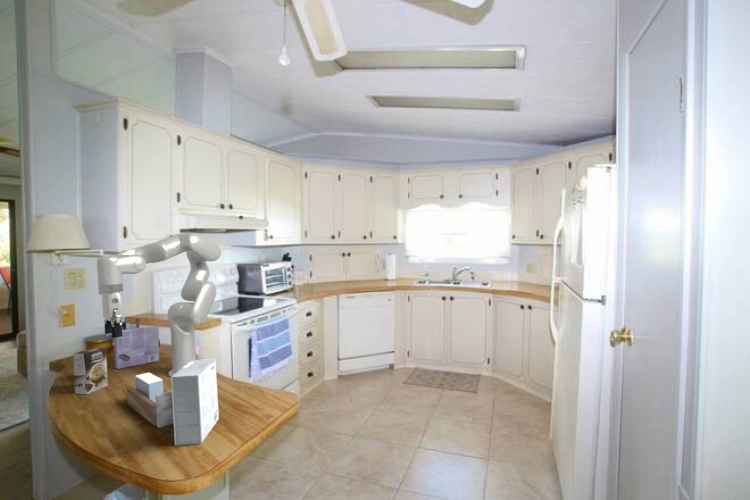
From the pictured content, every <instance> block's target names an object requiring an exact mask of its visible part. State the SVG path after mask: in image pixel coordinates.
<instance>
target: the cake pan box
mask: <svg viewBox="0 0 750 500" xmlns="http://www.w3.org/2000/svg"><path fill="white" fill-rule="evenodd" d="M159 329H160V327H159V325H152V326H145V327H135V328H131V329H122V337H116V338H114V368H116V370H121V369H125V368H130V367H137V366H141V365H142V366H143V365H145V364H149V363H154V362H155V363H156V362H160V346H161V340H160V337H159V335H160V333H159V332H160V330H159Z"/></svg>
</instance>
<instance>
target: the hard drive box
mask: <svg viewBox="0 0 750 500" xmlns="http://www.w3.org/2000/svg"><path fill="white" fill-rule="evenodd" d="M170 380H171V390H172V401H173V419H174V423H173V432H174V433H173V436H174V438H173V439H174V446H188V445H189V446H190V445H200V444H202V443H203V442H204V440H205V439H206V438H207V436H208V435H209V433H210V432H211V431H212V429H213V428H214V426H215V425H216V424H217V423H218V421H219V420H220V416H219V399H218V398H219V397H218V384H217V383H218V382H217V364H216V359H215V358H206V359H204V358H203V359H196V360H192V361H190V362H189V363H188V364H187V365H185V366H184V367H183V368H182V369H181V370H179V371H178V372H177V373H176V374H174V375H173V376H172V377H171V376H170Z"/></svg>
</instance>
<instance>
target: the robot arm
mask: <svg viewBox="0 0 750 500" xmlns="http://www.w3.org/2000/svg"><path fill="white" fill-rule="evenodd" d="M183 253H186V257H187V260H188V262H189V266H190V271H189V273H188V275H187V278H186V280H185V282H184V284H183V286H182V289H181V292H180V297H181V299H183V300H184V302H183V301H180V302H175V303H172V305H171V306H169V307H168V310H167V319H168V324H169V328H170V329H169V330H170V344H171V345H170V347H171V370H169V371H168V376H169V377H170V378H171V377H172V376H173V375H174V374H176V373H177V372H178V371H179V370H181V369H182V368H183V367H184V366H185V365H187V364H188V363H189V362H190V361H192V360H197V358H196V334H195V328H194V326H195V325H201V324H203V323H204V322H205V321H206V319H207V318H208V316H209V314H210V311H211V309H212V307H213V305H214V301H215V299H216V296H217V287H216V285H215V284H214V282H212V281H209V278H210V269H209V265H208V264H207V262H216V261H218V259H220V257H221V256H222V255H221V254H222V250H221V247H220V246H219V245H218V244H217V243H216V242H214V241H212V240H211V239H209V238H207V237H206V236H203V235H201V234H199V233H196V232H181V233H176V234H174V235H171V236H168V237H166V238H163V239H160V240H158V241H155V242H152V243H148V244H145V245H141V246H137V247H133V248H131V249H127V250H125V251H121V252H120V253H117V254H114V255H105V256H99V257H98V258H97V260H96V269H97V273H96V274H97V288H98V295H100V296H101V300H102V301H101V307H102V308H101V310H102V317H103V319H104V334H105V335H109V334H111V338H112V339H115V338H116V337H122V330H123V327H122V326H123V325H122V320H124V319H125V312H124V302H123V295H122V293H124V283H123V282H124V281H123V275H125V274H127V275H136V274H139V273H142V272H143V271H144V270H145V269H146V267H147V264H156V263H161V262H165V261H167V260H169V259H171V258H174V257H176V256H178V255H180V254H183ZM185 301H186V302H185ZM193 325H194V326H193Z"/></svg>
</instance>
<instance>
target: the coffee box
mask: <svg viewBox="0 0 750 500" xmlns="http://www.w3.org/2000/svg"><path fill="white" fill-rule="evenodd" d="M107 361H108V360H107V347H101V346H99V347H91V348H88V349H84V350H80V351H77V352H74V353H73V364H74V365H73V368H74V369H73V372H74V394H77V395H78V394H79V395H89V394H92V393H94V392H96V391H98V390H101V389H104V388H106V387H108V385H109V384H108V382H109V381H108V362H107Z"/></svg>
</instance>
